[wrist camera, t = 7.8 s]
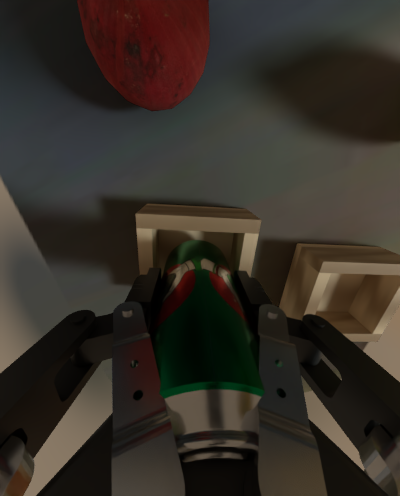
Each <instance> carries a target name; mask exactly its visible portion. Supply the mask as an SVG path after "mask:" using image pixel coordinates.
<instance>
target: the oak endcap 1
mask: <svg viewBox="0 0 400 496" xmlns="http://www.w3.org/2000/svg"><path fill="white" fill-rule="evenodd" d="M135 215H136V229H137V243H138V257H139V271H140V275H141V274H142V275H147V273H148V270H149V268H150V267H151V268H161V279H162V275H163V271H164V267H165V264H166V260H167V257H168V255H169V254H170V252H171V251H172V250H173V249H174V248H175V247H177V246H178V245H180V244H182V243H184V242H187V241H191V240H203V241H207V242H210V243H212V244H214V245H215V246H217V247H218V248H219V249H220V250H221V251H222V252H223V254H224V256H225V258H226V260H227V263H228V265H229V268H230V270H231V273H232V275H233V277H234V272H235V270H241V271H247V273H248V275H249V277H250V276H251V270H252V265H253V260H254V255H255V250H256V245H257V240H258V235H259V230H260V225H261V219H259V218H258V217H257V216H255V215H254V214H252V213H251V212H250V211H248V210H247V209H239V208H221V207H203V206H185V205H166V204H148V203H147V204H146V205H145V206H144V207H143V208H141V209H140V210H139V211H138V212H137V213H135Z"/></svg>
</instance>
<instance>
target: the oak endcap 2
mask: <svg viewBox="0 0 400 496" xmlns="http://www.w3.org/2000/svg"><path fill="white" fill-rule="evenodd" d="M399 305H400V255H398V254H396V253H393V252H391V251H388V250H386V249H384V248H381V247H371V246H348V245H325V244H302V243H297V246H296V250H295V253H294V257H293V260H292V263H291V267H290V270H289V274H288V277H287V281H286V284H285V288H284V291H283V295H282V298H281V302H280V305H279V308H280V309H282V310H283V311H284V312H285V314H286V316H287V317H290V318H294V319H298V320H302V318H303V316H304V315H306V314H314V315H317V316H320V317H322V318H324V319H325V320H327V321H328V322H329V323H330V324H331V325H333V326H334V327H335V328H336V329H337V330H339V331H340V332H341V333H342V334H343V335H344V336H346V337H347V338H348V339H349V340H350V341H368V342H371V341H374V342H377V341H378V340H379V338H380V337H381V335H382V333H383V332H384V330H385V328H386V327H387V325H388V323H389V322H390V320H391V319H392V317H393V315H394V313H395V312H396V310H397V309H398V307H399Z"/></svg>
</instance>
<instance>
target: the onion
mask: <svg viewBox="0 0 400 496" xmlns="http://www.w3.org/2000/svg"><path fill="white" fill-rule="evenodd" d="M77 3H78V8H79V12H80V17H81V22H82V26H83V31H84V35H85V40H86V43H87V45H88V47H89V48H90V50H91V52H92V54H93V56H94V58H95V60H96V62H97V64H98V66H99V68H100V70H101V72H102V73H103V75H104V77H105V78H106V80H107V81H108V82H109V83H110V84H111V85H112V86H113V87H114V88H115V89H116V90H117V91H118V92H119V93H120V94H121V95H122V96H123V97H124V98H125V99H126V100H127V101H129V102H131V103H133V104H135V105H138V106H140V107H143V108H145V109H148V110H150V111H158V110H165V109H172V108H174V107H175V106H176V105H177V104H179V103H180V102H181V101H182V100H184V99H185V98H186V97H187V96H189V95H190V94H191V92H192V91H193V89H194V87H195V86H196V84H197V82H198V81H199V79H200V77H201V76H202V74H203V71H204V67H205V62H206V58H207V53H208V49H209V35H210V34H209V5H208V0H77Z"/></svg>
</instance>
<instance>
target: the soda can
mask: <svg viewBox="0 0 400 496" xmlns="http://www.w3.org/2000/svg"><path fill="white" fill-rule="evenodd" d="M148 333H149V335H150V339H151V343H152V348H153V352H154V356H155V361H156V365H157V370H158V374H159V378H160V383H161V384H160V392H159V393H160V395H161V396H162V397H163V398H164V400H165V405H166V409H167V413H168V415H169V418H170V421H171V425H172V429H173V434H174V438H175V442H176V447H177V451H178V455H179V456H181V462H182V463H184V464H196V463H200V462H204V461H212V460H230V461H235V462H247V461H249V460H250V452H252V453H255V450H256V437H255V434H256V420H257V408H258V401H259V400H260V398H261V397H262V396H263V394H264V393H265V390H264V387H263V384H262V381H261V378H260V375H259V359H258V343H257V336H256V334H255V331H254V328H253V326H252V323H251V321H250V318H249V316H248V313H247V311H246V308H245V306H244V303H243V301H242V298H241V296H240V293H239V290H238V288H237V285H236V283H235V280H234V278H233V275H232V273H231V270H230V268H229V265H228V263H227V260H226V258H225V256H224V254H223V252H222V251H221V250H220V249H219V248H218V247H217V246H215V245H214V244H212V243H210V242H207V241H203V240H191V241H187V242H184V243H182V244H180V245H178V246H177V247H175V248H174V249H173V250H172V251H171V252H170V254H169V255H168V257H167V260H166V264H165V267H164V271H163V275H162V279H161V283H160V287H159V291H158V295H157V299H156V303H155V307H154V311H153V315H152V319H151V323H150V327H149V331H148Z"/></svg>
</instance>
